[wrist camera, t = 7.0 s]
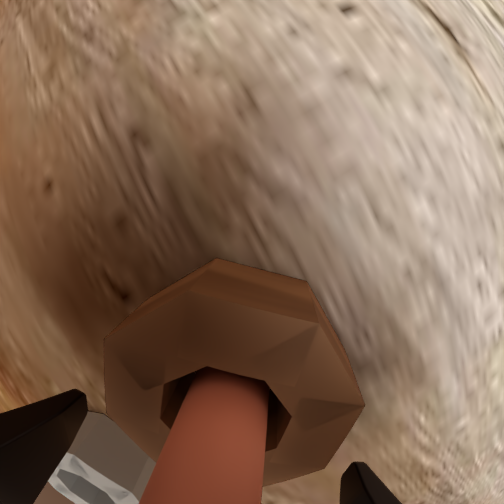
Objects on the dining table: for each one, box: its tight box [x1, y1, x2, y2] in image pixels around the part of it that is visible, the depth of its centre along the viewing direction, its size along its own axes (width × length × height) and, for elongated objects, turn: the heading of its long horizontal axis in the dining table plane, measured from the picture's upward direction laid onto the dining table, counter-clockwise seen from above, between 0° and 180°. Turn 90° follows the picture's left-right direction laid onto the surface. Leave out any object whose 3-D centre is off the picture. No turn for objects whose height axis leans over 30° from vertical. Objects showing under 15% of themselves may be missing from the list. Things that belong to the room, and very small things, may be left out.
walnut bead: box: [104, 258, 365, 487], centre depth 11 cm, size 9×9×4 cm
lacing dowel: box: [139, 366, 269, 504], centre depth 9 cm, size 3×3×9 cm
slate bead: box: [48, 411, 156, 504], centre depth 14 cm, size 9×9×4 cm
